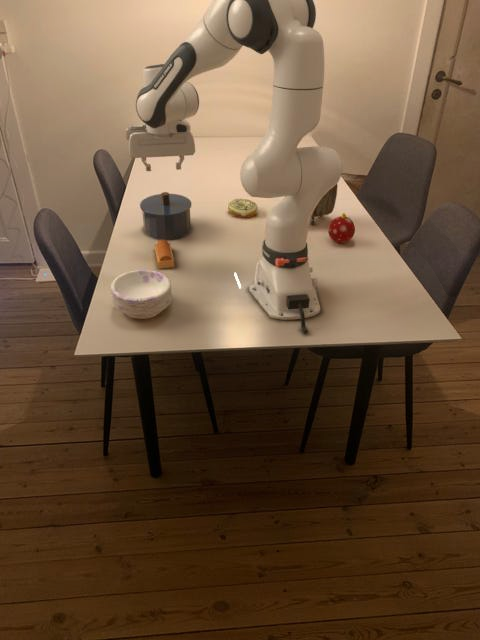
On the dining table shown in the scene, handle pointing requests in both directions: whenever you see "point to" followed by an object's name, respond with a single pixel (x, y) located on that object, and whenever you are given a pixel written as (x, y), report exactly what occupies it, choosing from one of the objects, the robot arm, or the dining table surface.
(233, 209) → the decorated donut
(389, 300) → the dining table surface
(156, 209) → the crock lid
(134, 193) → the dining table surface
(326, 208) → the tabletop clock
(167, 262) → the orange rounded bar
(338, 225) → the christmas ornament
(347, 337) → the dining table surface
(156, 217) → the crock
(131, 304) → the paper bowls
